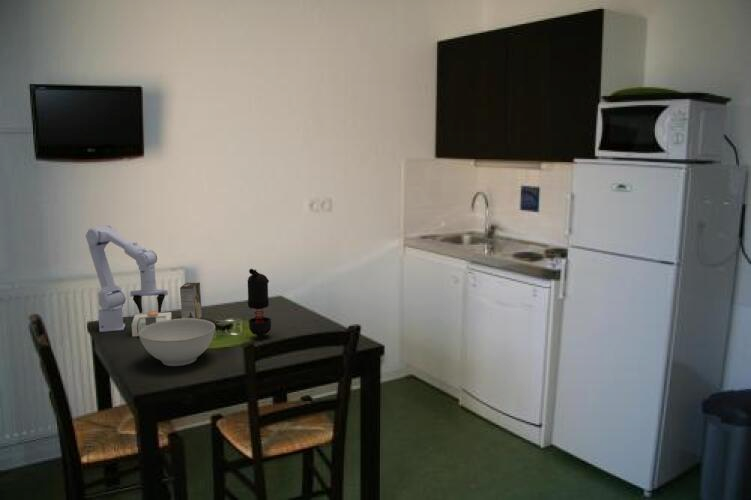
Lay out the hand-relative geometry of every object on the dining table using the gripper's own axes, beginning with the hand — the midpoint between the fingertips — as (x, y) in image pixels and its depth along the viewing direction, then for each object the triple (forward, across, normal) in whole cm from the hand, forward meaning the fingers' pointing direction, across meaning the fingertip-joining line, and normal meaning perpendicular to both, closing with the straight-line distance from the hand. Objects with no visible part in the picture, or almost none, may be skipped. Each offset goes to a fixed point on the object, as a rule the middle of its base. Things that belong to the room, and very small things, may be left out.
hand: (150, 312), depth 259 cm
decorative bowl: (+10, -17, +32) cm, 38 cm away
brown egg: (+8, +2, -11) cm, 14 cm away
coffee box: (+10, -13, -20) cm, 26 cm away
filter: (+10, -46, +9) cm, 48 cm away
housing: (+9, +1, -6) cm, 11 cm away
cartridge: (+8, +1, -4) cm, 9 cm away
